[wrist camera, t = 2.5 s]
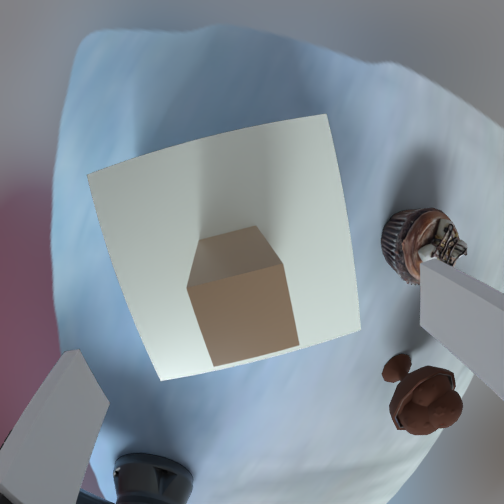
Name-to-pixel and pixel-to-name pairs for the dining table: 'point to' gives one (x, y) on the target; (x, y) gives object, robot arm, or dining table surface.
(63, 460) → the robot arm
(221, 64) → the dining table surface
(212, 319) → the white box with knob
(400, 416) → the ice cream bowl
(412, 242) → the cupcake
